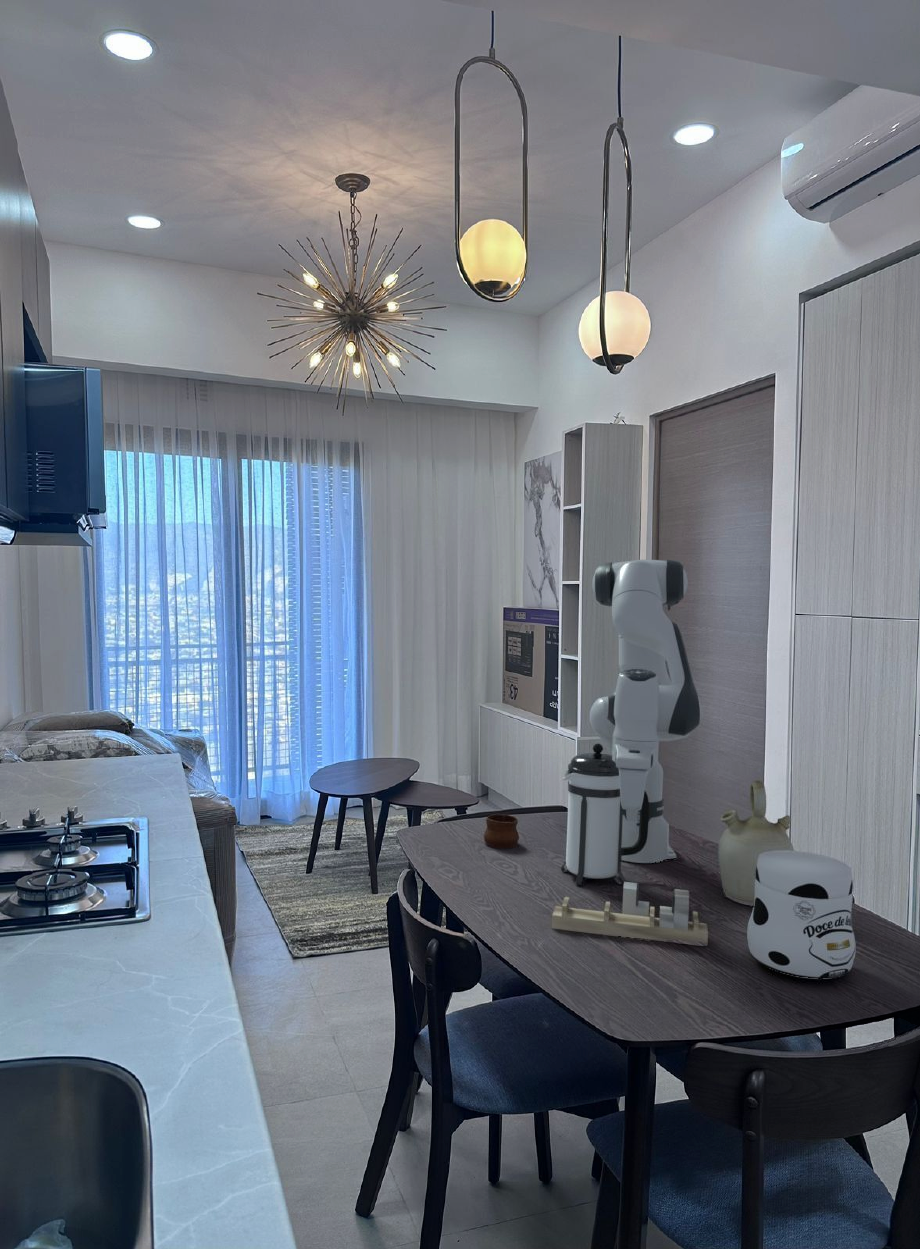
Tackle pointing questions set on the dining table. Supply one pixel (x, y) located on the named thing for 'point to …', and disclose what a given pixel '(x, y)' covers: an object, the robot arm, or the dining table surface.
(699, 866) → the dining table surface
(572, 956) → the dining table surface
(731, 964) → the dining table surface
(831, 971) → the milk container
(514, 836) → the ceramic pot
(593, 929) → the rail
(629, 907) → the grey block
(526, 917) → the dining table surface
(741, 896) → the jug
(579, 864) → the coffee press
